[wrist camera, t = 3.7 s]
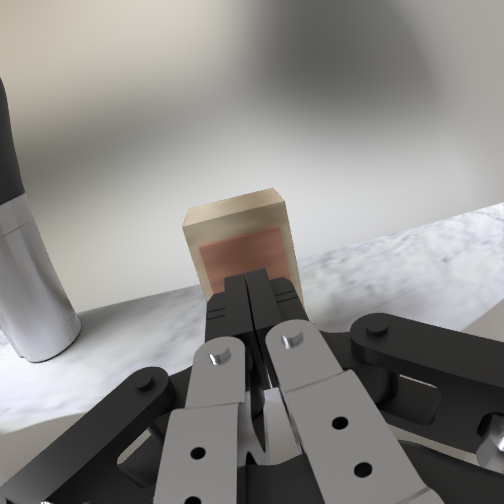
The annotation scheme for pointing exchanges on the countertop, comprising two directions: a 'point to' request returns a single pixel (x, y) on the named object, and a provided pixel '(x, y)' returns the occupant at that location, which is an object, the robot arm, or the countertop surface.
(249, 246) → the birch block
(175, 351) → the countertop surface
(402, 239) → the countertop surface
